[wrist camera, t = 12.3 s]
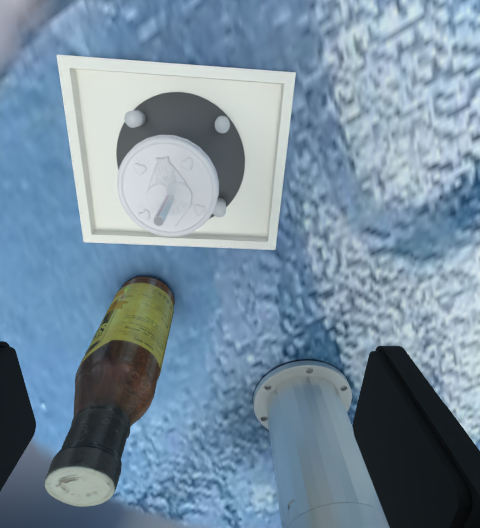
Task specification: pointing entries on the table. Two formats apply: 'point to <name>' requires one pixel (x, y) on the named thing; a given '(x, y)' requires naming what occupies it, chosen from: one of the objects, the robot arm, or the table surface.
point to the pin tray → (185, 126)
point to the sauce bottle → (112, 392)
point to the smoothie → (168, 185)
